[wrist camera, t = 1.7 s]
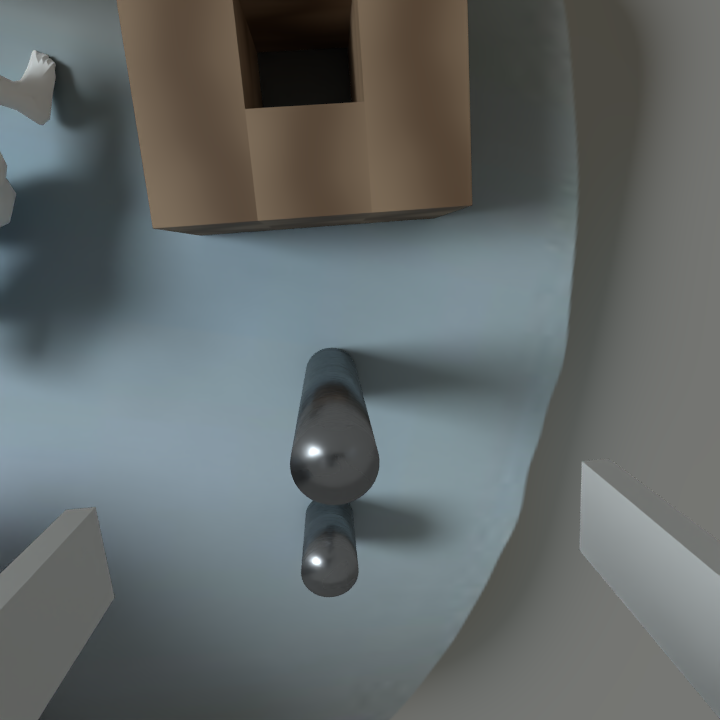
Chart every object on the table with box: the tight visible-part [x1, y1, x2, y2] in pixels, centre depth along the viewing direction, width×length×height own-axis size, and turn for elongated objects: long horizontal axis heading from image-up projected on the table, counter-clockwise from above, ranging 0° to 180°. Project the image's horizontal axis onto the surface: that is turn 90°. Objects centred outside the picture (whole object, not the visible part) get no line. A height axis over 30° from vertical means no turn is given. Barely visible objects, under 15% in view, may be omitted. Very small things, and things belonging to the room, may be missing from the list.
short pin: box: [301, 500, 358, 597], centre depth 30 cm, size 3×3×6 cm
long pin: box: [290, 348, 379, 505], centre depth 24 cm, size 3×3×14 cm
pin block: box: [117, 0, 472, 235], centre depth 24 cm, size 14×14×8 cm
